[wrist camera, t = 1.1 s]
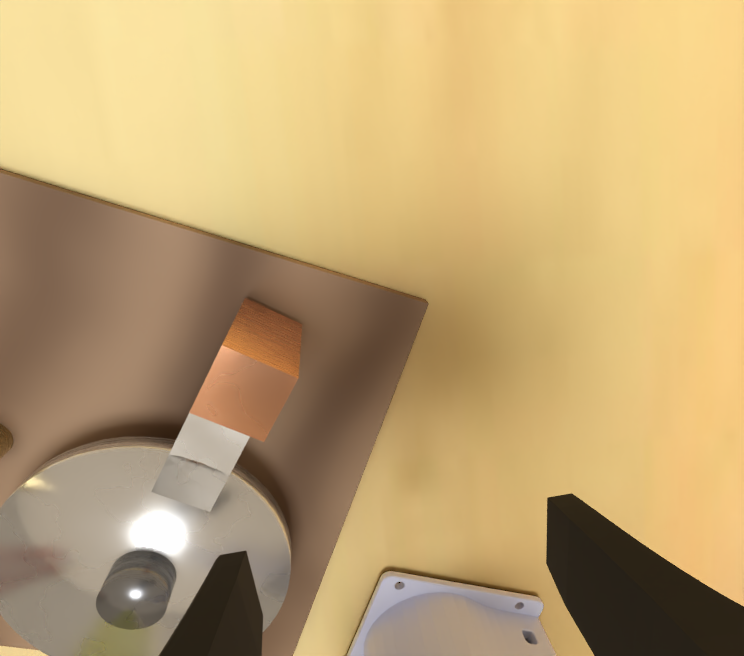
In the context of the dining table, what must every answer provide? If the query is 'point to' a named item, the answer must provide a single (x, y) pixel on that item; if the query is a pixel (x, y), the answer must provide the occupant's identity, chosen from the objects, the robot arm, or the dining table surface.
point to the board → (187, 357)
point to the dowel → (5, 440)
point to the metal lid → (153, 512)
